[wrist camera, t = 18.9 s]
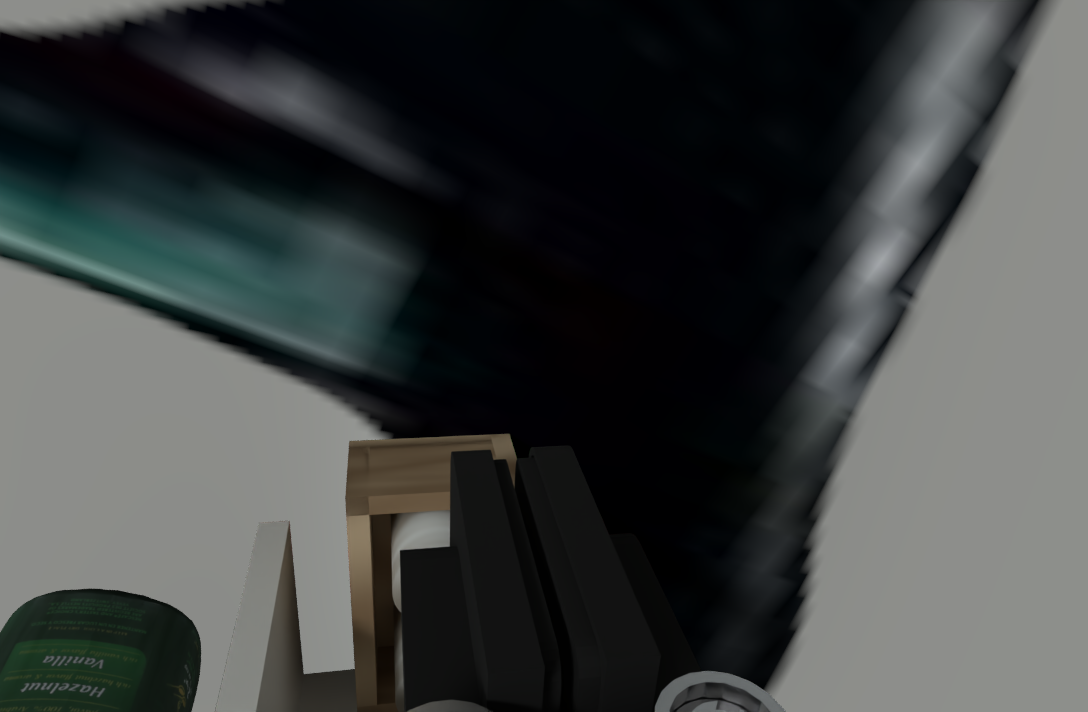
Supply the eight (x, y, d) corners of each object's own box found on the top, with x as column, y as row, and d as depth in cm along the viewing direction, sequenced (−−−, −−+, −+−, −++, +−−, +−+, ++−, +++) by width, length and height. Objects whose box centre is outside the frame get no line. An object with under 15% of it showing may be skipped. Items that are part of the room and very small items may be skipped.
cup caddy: (349, 441, 31) (343, 528, 26) (509, 433, 33) (533, 515, 27) (360, 649, 36) (356, 759, 31) (500, 635, 37) (520, 739, 32)
